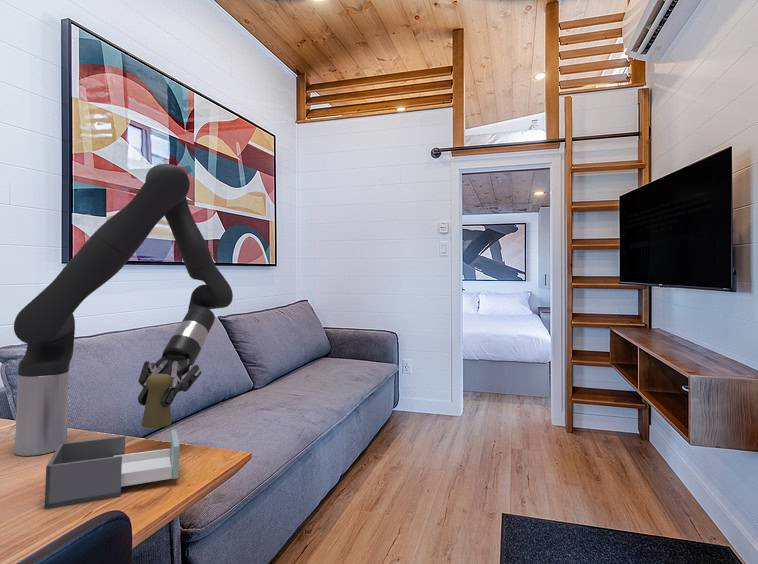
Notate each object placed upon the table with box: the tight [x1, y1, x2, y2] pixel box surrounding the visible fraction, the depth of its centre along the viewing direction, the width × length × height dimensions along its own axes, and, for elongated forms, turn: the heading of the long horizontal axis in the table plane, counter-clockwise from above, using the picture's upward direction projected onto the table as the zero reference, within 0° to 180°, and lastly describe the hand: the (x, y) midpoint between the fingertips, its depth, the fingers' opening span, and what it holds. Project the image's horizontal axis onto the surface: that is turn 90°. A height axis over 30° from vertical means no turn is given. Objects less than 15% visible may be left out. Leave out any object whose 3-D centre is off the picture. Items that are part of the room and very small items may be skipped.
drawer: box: [113, 429, 180, 487], centre depth 84 cm, size 11×11×6 cm
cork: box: [141, 374, 172, 429], centre depth 97 cm, size 6×6×11 cm
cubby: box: [44, 435, 126, 510], centre depth 80 cm, size 11×12×7 cm
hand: (152, 404), depth 95 cm, fingers closed on cork, 4 cm apart
